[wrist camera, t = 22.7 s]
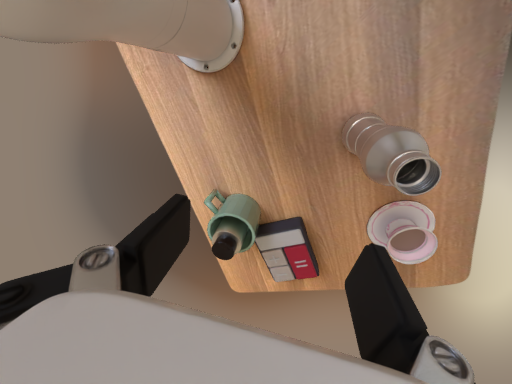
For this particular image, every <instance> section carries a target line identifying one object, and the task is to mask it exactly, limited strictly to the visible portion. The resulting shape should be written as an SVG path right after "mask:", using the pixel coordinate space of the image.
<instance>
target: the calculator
mask: <svg viewBox="0 0 512 384" xmlns="http://www.w3.org/2000/svg"><path fill="white" fill-rule="evenodd" d="M255 243H256V245H257V247H258V249H259V251H260V253H261V255H262V257H263V259H264V261H265V263H266V265H267V267H268V269H269V271H270V273H271V275H272V277H273V279H274V280H275V281H276V282H280V281H288V280H294V279H305V278H313V277H317V276H319V268H318V263H317V261H316V258H315V255H314V252H313V249H312V247H311V244H310V241H309V238H308V236H307V232H306V229H305V226H304V223H303V220H302V218H301V217H296V218H291V219H287V220H282V221H277V222H273V223H268V224H264V225H259V227H258V230H257V234H256V237H255Z"/></svg>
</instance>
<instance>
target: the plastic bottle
mask: <svg viewBox="0 0 512 384" xmlns="http://www.w3.org/2000/svg"><path fill="white" fill-rule="evenodd" d="M342 142H343V144H344V146H345V148H346V149H347V150H348V151H349V152H351V153H353V154H355V155H357V156H358V158H359V160H360V163H361V166H362V169H363V171H364V172H365V174H366V175H367V176H368V177H369V178H370V179H371V180H372V181H374V182H376V183H379V184H382V185H386V186H394V187H395V188H396V189H397V190H398V191H400V192H401V193H403V194H406V195H410V196H416V195H421V194H424V193H427V192H429V191H430V190H432V189H433V188H434V187H435V186H436V185H437V184H438V182H439V181H440V178H441V173H442V171H441V167H440V165H439V164H438V163H437V162H436V160H434V159H433V158H431V157H430V156H429V148H428V145H427V143H426V141H425V139H424V138H423V137H422V135H421V134H420V133H418V132H417V131H415V130H413V129H410V128H407V127H402V126H390V125H387V124H386V123H385V121H384V120H383V119H382V118H381V117H379V116H378V115H376V114H374V113H361V114H357V115H355V116H353V117H352V118H350V119H349V120H348V121H347V122H346V124H345V125H344V127H343V131H342Z"/></svg>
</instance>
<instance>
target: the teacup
mask: <svg viewBox="0 0 512 384" xmlns="http://www.w3.org/2000/svg"><path fill="white" fill-rule="evenodd" d="M435 221H436V220H435V217H434V215H433V212H432V211H431V210H430V209H429V208H428V207H427V206H425V205H423V204H421V203H418V202H414V201H406V200H405V201H397V202H393V203H390V204H387V205H384V206H383V207H381V208H380V209H378V210H377V211H375V213H374V214H373V215H372V216H371V217H370V219H369V221H368V224H367V234H368V236H369V238H370V240H371V241H372V242H373V243H374V244H377V245H381V246H384V247H385V248H386V249H387V251H388V253H389V254H390V256H391V257H392V258H393V259H394V260H396V261H398V262H400V263H404V264H417V263H421V262H423V261H425V260H427V259H429V258H430V257H431V256H432V255H433V254H434V253H435V251H436V249H437V246H438V240H437V237H436V236H435V234H434V233H433V230H434V229H435Z"/></svg>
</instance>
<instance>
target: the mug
mask: <svg viewBox="0 0 512 384" xmlns="http://www.w3.org/2000/svg"><path fill="white" fill-rule="evenodd" d="M215 196H216V197H217V198H218V199H219V200H220V201H221V202H222V203H221V205H220V206H219V208H218V209H217V208H216V207H215V206H214V205H213V203H212V202H211V201H212V200H213V198H214V197H215ZM204 203H205V205H206V206H207V207H208V208H209V209H210V210H211V211H212V212H213V213H214V215H213V217H212V219H211V220H210V222H209V223H208V228H207V231H208V236H209V238H210V239H211V241H212V237H213V235H214V233H215V232H216V230H217V228H218V226H219V224H220V223H221V221H222V219H223V217H224V216H233V217H236V218H239V219H240V220H242V221H244V222H245V223H246V224H247V225H248V226H249V227H248V230H247V233H246V235H245V238H244V241H243V244H242V247H241V250H240V251H239V252H238V253H240V252H244V251H246V250H248V249H250V248H251V246H252V245H253V244H254V241H255V237H256V234H257V230H258V227H259V223H260V219H261V209H260V207H259V205H258V203H257V202H256V201H255V200H254V199H253V198H251V197H249V196H247V195H244V194H232V195H229V196H228V197H226V198H224V197H223V196H222V195H221V194H220V193H219V191H218V190H217V189H214V190H213V191H212V192H211V193H210V194H209V196H208V197H207V198H206V199H205V201H204Z"/></svg>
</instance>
